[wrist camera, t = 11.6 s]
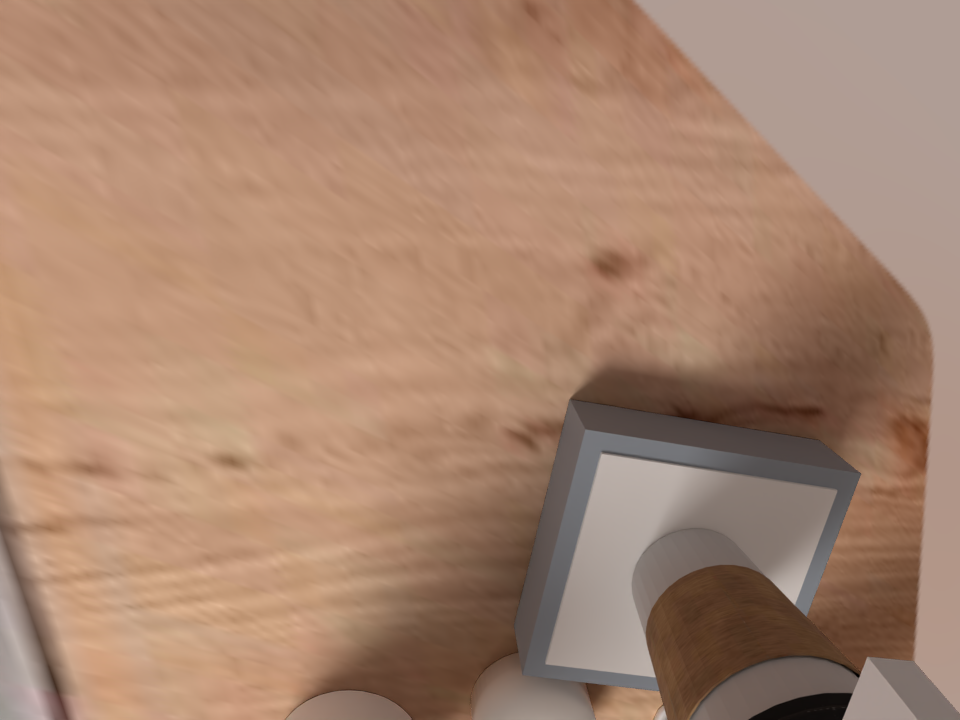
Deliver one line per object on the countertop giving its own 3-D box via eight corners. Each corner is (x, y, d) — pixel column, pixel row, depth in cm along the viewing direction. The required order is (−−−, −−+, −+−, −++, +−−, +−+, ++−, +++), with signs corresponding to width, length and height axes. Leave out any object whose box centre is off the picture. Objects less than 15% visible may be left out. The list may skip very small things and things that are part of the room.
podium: (569, 399, 38) (586, 431, 34) (819, 440, 39) (863, 475, 35) (513, 625, 42) (522, 677, 38) (742, 654, 43) (774, 707, 39)
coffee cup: (717, 472, 35) (917, 710, 21) (800, 590, 37) (1031, 877, 23) (573, 568, 36) (668, 857, 22) (662, 676, 38) (801, 1002, 24)
